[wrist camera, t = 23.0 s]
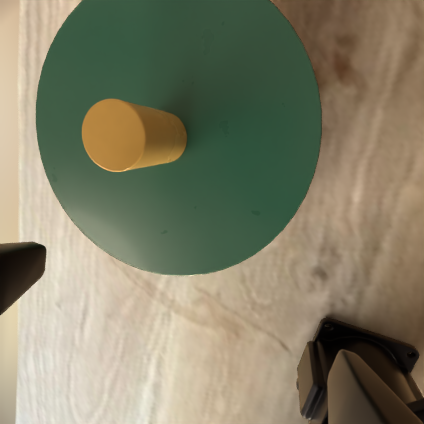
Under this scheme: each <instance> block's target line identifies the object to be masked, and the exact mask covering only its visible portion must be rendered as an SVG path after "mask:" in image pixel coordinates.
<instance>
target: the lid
mask: <svg viewBox="0 0 424 424" xmlns="http://www.w3.org/2000/svg"><path fill="white" fill-rule="evenodd" d="M36 130H37V140H38V146H39V150H40V155H41V160H42V163H43V166H44V169H45V172H46V175H47V178H48V180H49V182H50V185H51V187H52V189H53V192H54V193H55V195H56V197H57V199H58V200H59V202H60V204H61V206H62V208H63V209H64V210H65V212H66V213H67V214H68V216H69V217H70V219H71V220H72V221H73V223H74V224H75V225H76V226H77V227H78V228H79V229H80V230H81V231H82V233H83V234H84V235H85V236H87V237H88V238H89V239H90V240H91V241H92V242H93V243H94V244H95V245H97V246H98V247H99V248H101V249H102V250H104V251H105V252H106V253H108V254H109V255H111V256H113V257H115V258H116V259H118V260H120V261H122V262H124V263H126V264H128V265H131V266H133V267H136V268H138V269H141V270H145V271H148V272H152V273H156V274H163V275H169V276H194V275H203V274H208V273H212V272H216V271H220V270H224V269H226V268H229V267H231V266H234V265H236V264H239V263H240V262H242V261H244V260H246V259H248V258H249V257H251V256H253V255H255V254H256V253H257V252H259V251H260V250H261V249H263V248H264V247H265V246H267V245H268V244H269V243H270V242H271V241H272V240H273V239H274V238H275V237H276V236H277V235H278V234H279V233H280V232H281V231H282V230H283V229H284V228H285V227H286V225H287V224H288V223H289V221H290V220H291V219H292V218H293V216H294V215H295V213H296V212H297V210H298V208H299V207H300V205H301V203H302V201H303V200H304V198H305V196H306V194H307V191H308V189H309V186H310V184H311V181H312V179H313V176H314V173H315V169H316V165H317V161H318V158H319V152H320V144H321V136H322V109H321V102H320V95H319V88H318V84H317V80H316V77H315V73H314V70H313V66H312V63H311V61H310V59H309V57H308V54H307V52H306V50H305V48H304V45H303V43H302V41H301V40H300V38H299V37H298V35H297V33H296V32H295V30H294V29H293V27H292V25H291V24H290V22H289V21H288V20H287V19H286V18H285V16H284V15H283V14H282V13H281V12H280V11H279V9H278V8H277V7H276V6H275V5H274V4H273V3H272V2H271V1H270V0H82V1H81V2H80V3H79V5H78V6H77V7H76V8H75V9H74V10H73V11H72V12H71V14H70V15H69V16H68V17H67V19H66V20H65V22H64V23H63V25H62V26H61V28H60V29H59V31H58V32H57V34H56V36H55V38H54V40H53V42H52V44H51V46H50V48H49V51H48V53H47V56H46V59H45V62H44V64H43V67H42V72H41V76H40V80H39V84H38V91H37V100H36Z"/></svg>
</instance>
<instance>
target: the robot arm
mask: <svg viewBox="0 0 424 424" xmlns="http://www.w3.org/2000/svg"><path fill="white" fill-rule="evenodd" d="M45 263H46V247H45V246H44V245H41V244H38V243H35V242H21V243H6V244H0V315H1V314H2V313H3V312H5V311H6V310H7V309H8V308H9V307H10V306H11V305H12V304H13V303H14V302H15V301H17V300H18V299H19V298H20V297H21V296H22V295H23V294H24V293H25V292H26V291H27V290H28V289H29V288H30V287H31V286H32V285H33V284H35V283H36V282H37V281H38V280H39V279H40V278H41V277H42V275H43V273H44V271H45ZM326 324H331V326H329V327H326V326H325V325H326ZM408 352H412V353H411V354H407V353H408ZM418 358H419V353H418V351H417V349H416V348H415V347H414V346H412V345H410V344H407V343H404V342H401V341H398V340H395V339H392V338H389V337H386V336H383V335H380V334H377V333H374V332H371V331H368V330H365V329H362V328H359V327H356V326H353V325H350V324H347V323H344V322H341V321H338V320H335V319H332V318H328V317H326V318H323V319H322V320H321V321H320V324H319V326H318V329H317V331H316V334H315V336H314V339H313V341H309V342H308V343H307V345H306V348H305V350H304V353H303V355H302V358H301V360H300V363H299V365H298V368H297V371H298V378H297V382H296V384H297V389H298V390H299V400H300V413H301V414H302V416H303V417H304V418H306V419H309V424H424V398H423V396H422V394H421V392H420V390H419V389H418V387H417V385H416V383H415V381H414V380H413V378H412V376H411V374H410V373H411V371H412V369H413V367H414V365H415V363H416V361H417V360H418Z"/></svg>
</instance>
